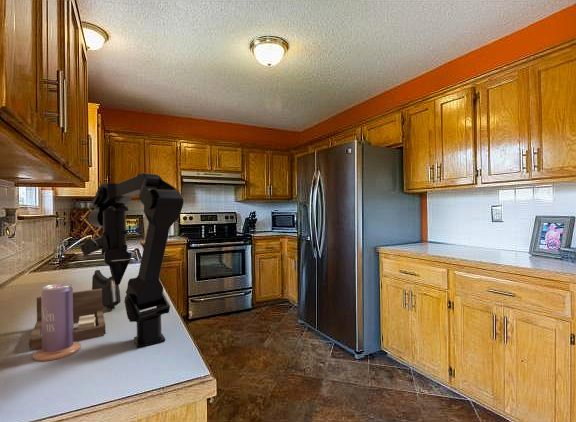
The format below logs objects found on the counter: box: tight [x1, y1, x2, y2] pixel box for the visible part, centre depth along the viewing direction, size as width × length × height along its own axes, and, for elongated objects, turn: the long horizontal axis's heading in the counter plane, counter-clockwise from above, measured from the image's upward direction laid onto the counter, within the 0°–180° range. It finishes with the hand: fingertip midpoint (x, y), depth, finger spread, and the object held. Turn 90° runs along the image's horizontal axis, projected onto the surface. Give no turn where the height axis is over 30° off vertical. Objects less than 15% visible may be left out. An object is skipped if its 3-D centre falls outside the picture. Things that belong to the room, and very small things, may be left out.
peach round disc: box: [32, 341, 82, 362], centre depth 73 cm, size 9×9×1 cm
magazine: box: [91, 269, 121, 310], centre depth 116 cm, size 17×3×30 cm
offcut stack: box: [77, 314, 97, 330], centre depth 87 cm, size 10×4×4 cm, turn 32°
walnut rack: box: [28, 289, 107, 351], centre depth 86 cm, size 18×16×9 cm
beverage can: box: [40, 282, 74, 354], centre depth 73 cm, size 6×6×15 cm
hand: (115, 281), depth 89 cm, fingers open, 9 cm apart
